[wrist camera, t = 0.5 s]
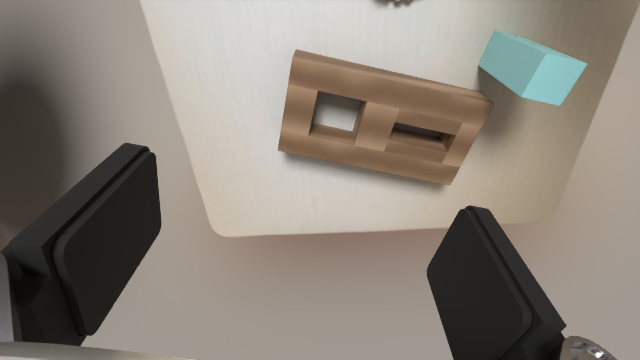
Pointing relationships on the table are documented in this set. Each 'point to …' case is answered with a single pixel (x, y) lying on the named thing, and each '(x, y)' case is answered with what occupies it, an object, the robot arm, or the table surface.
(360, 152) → the bore board
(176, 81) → the table surface
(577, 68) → the square peg
